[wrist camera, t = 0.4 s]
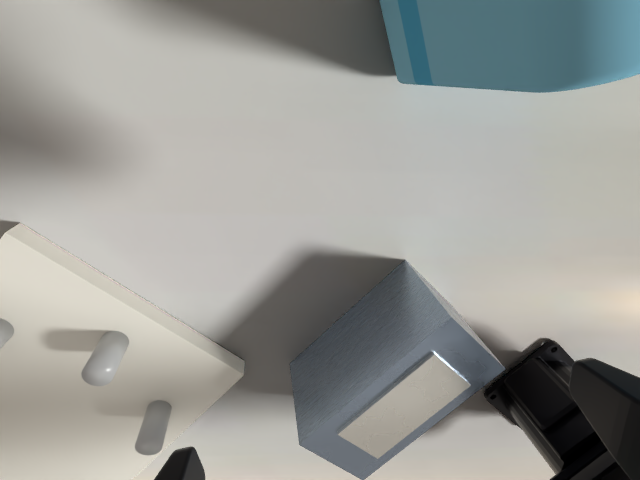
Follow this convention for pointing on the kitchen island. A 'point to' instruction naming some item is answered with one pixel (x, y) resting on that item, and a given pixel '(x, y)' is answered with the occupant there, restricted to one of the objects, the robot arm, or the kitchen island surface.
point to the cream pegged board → (92, 369)
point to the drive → (386, 373)
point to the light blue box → (513, 43)
